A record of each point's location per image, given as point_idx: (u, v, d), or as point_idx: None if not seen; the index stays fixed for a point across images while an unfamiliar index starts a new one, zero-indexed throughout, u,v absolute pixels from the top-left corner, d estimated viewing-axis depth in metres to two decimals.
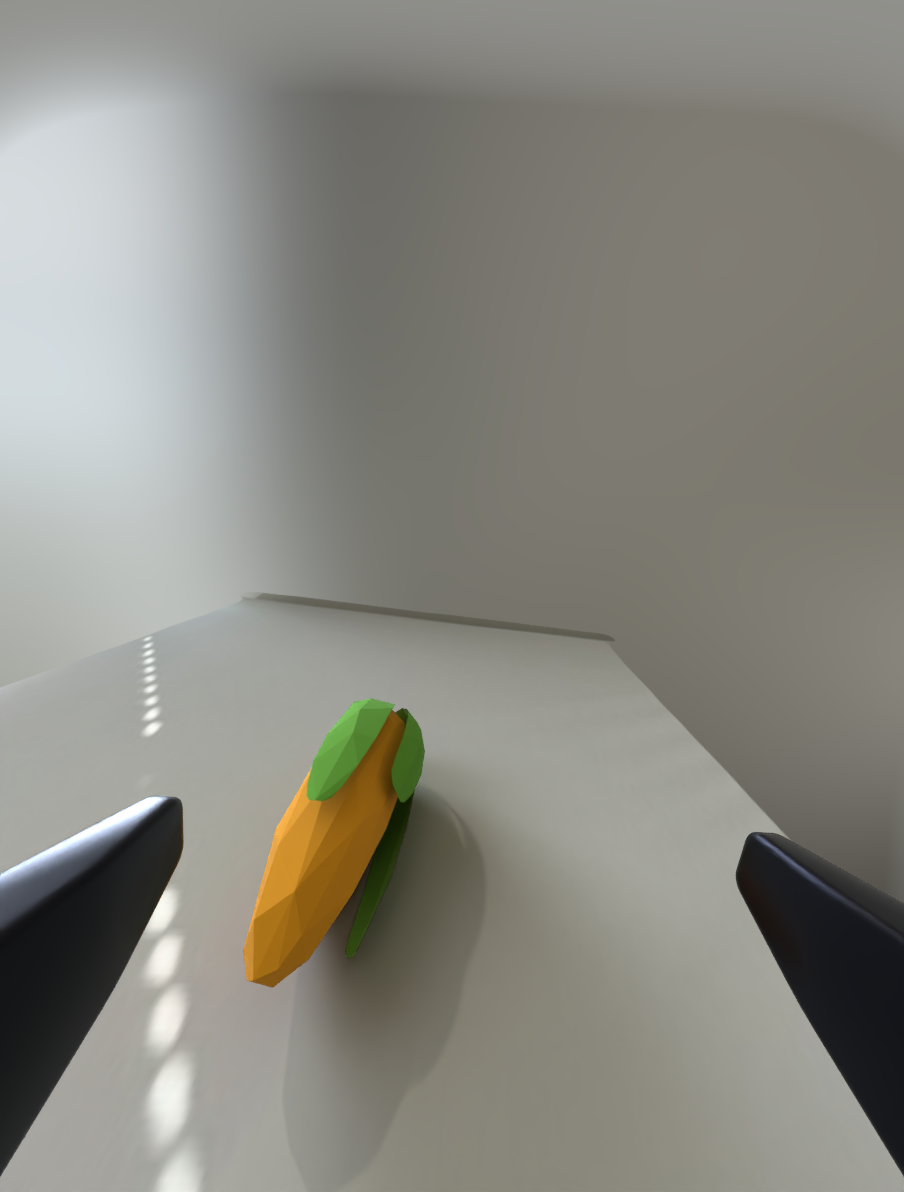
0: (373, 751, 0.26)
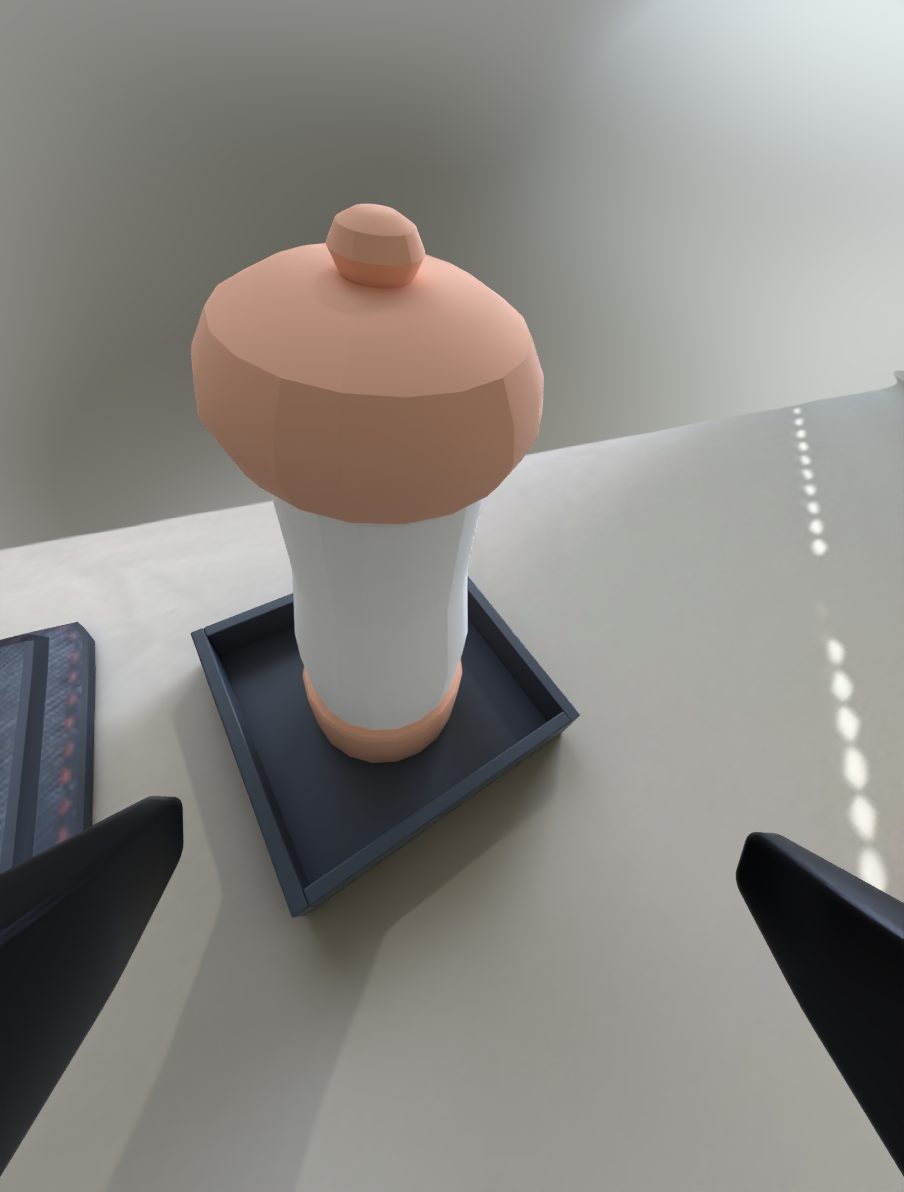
0: None
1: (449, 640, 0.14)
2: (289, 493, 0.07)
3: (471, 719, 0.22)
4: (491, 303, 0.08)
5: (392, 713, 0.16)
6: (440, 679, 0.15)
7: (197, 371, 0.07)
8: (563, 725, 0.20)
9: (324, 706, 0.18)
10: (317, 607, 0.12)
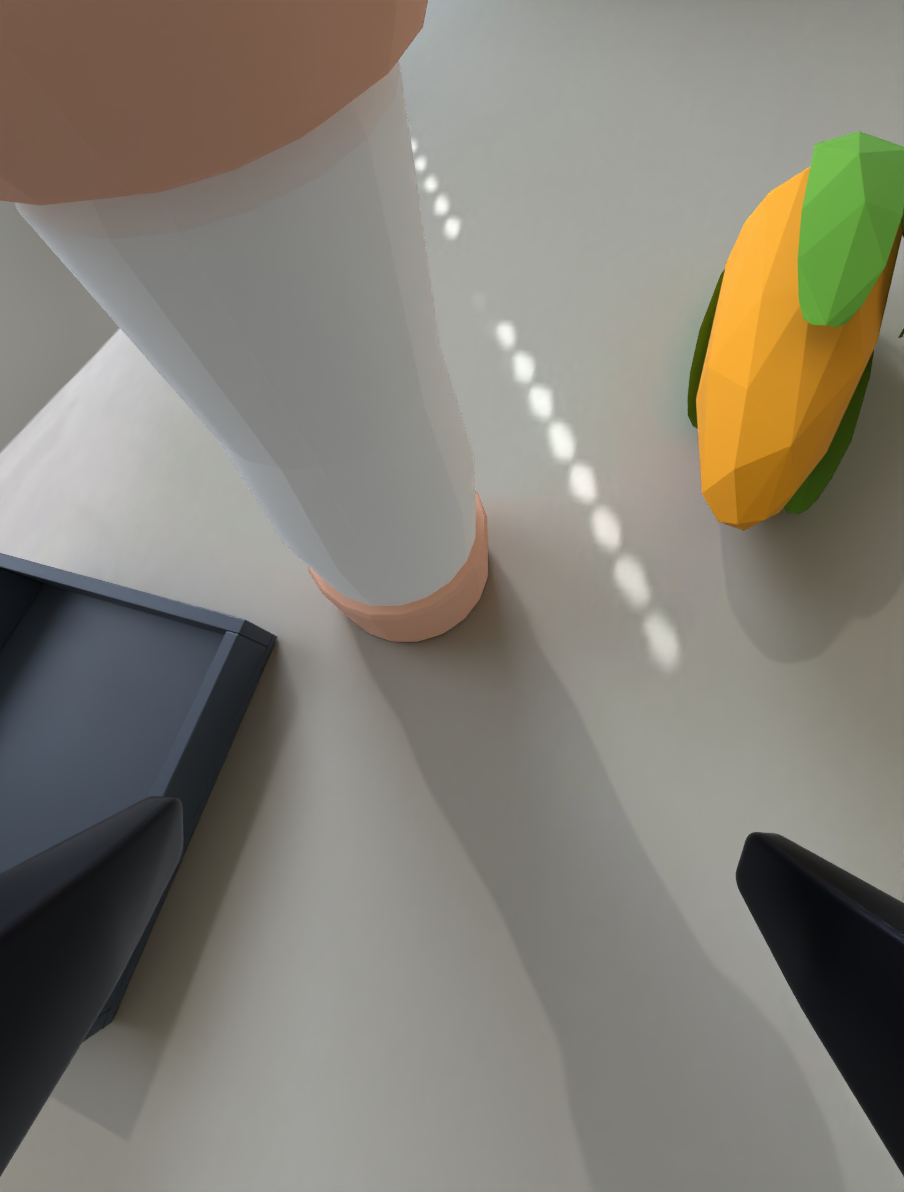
0: None
1: (447, 460, 0.10)
2: None
3: (173, 705, 0.18)
4: None
5: (412, 579, 0.13)
6: (454, 521, 0.12)
7: None
8: (232, 645, 0.16)
9: (341, 595, 0.15)
10: (247, 455, 0.08)
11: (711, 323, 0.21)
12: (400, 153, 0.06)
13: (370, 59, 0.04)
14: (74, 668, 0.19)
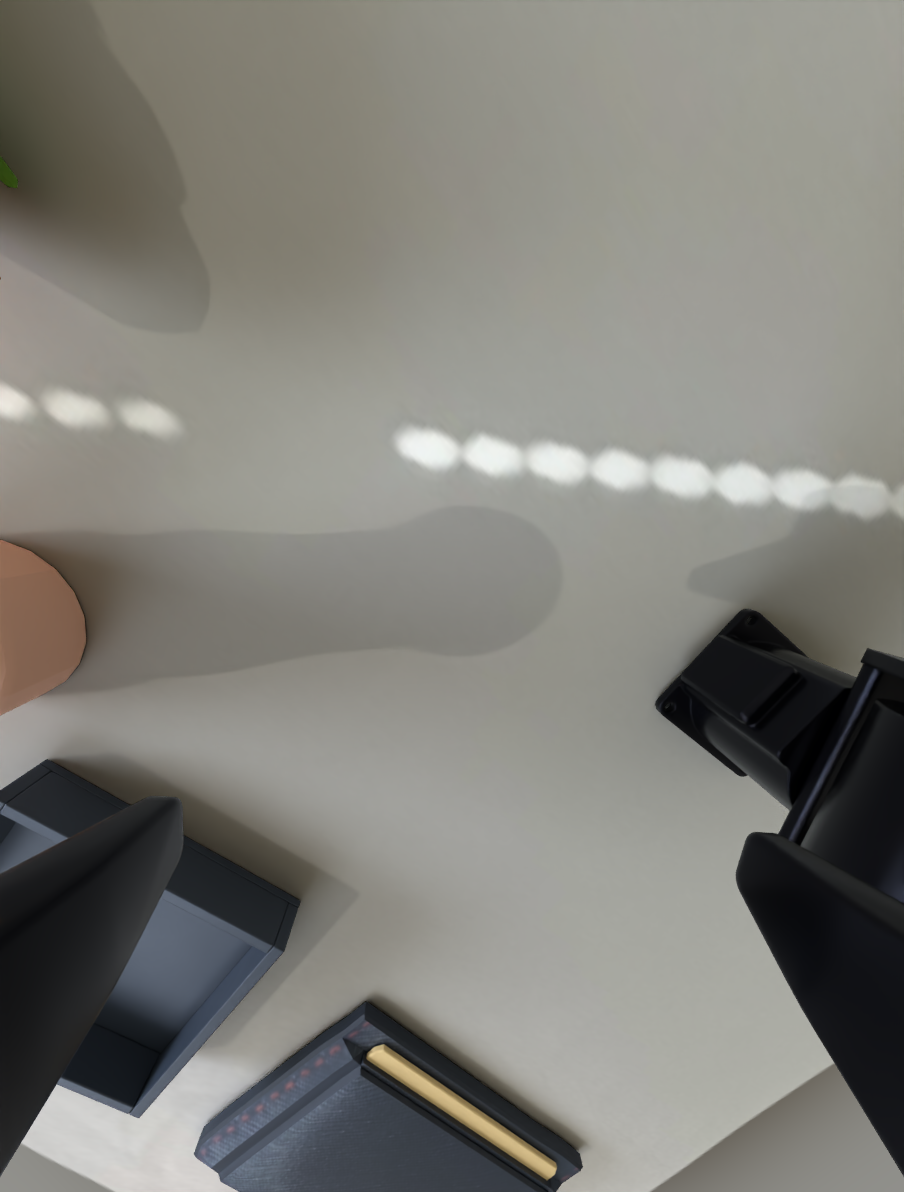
0: None
1: None
2: None
3: None
4: None
5: None
6: None
7: None
8: (16, 810, 0.17)
9: None
10: None
11: None
12: None
13: None
14: None
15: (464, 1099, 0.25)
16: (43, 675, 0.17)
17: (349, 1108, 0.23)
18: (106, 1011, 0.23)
